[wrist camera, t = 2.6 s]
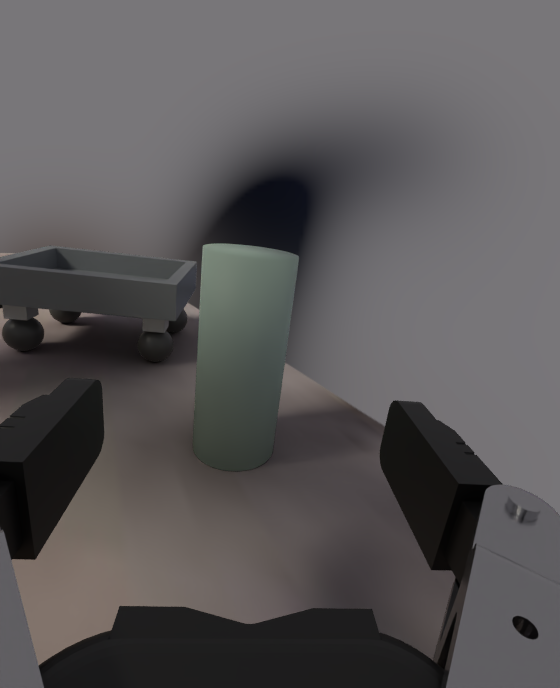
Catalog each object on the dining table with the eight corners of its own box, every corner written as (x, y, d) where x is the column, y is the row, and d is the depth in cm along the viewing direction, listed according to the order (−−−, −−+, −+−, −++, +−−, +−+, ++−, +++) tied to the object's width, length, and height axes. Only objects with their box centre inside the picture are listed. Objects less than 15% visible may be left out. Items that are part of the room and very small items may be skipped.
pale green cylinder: (186, 468, 22) (196, 251, 18) (198, 421, 26) (208, 240, 22) (274, 473, 22) (304, 264, 18) (271, 425, 27) (293, 250, 23)
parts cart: (-14, 356, 32) (-28, 263, 29) (55, 314, 43) (50, 245, 40) (174, 371, 33) (176, 284, 31) (193, 327, 44) (196, 261, 42)
